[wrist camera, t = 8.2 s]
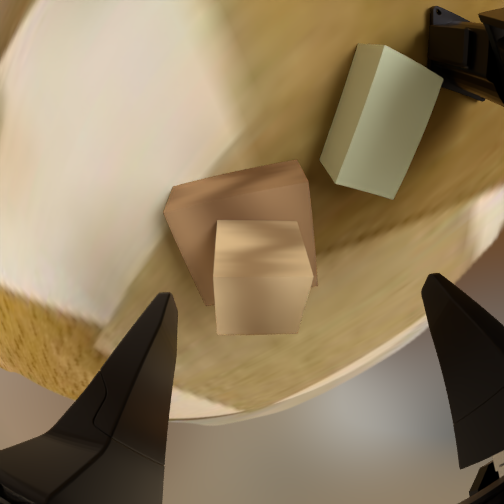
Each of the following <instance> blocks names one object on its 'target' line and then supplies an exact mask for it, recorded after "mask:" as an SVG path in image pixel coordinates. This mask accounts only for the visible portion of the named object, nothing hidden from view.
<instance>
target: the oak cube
mask: <svg viewBox="0 0 504 504" xmlns="http://www.w3.org/2000/svg"><path fill="white" fill-rule="evenodd" d="M313 277H314V276H313V273H312V269H311V266H310V262H309V259H308V256H307V252H306V249H305V246H304V242H303V239H302V236H301V232H300V229H299V226H298V223H297V221H264V220H217V231H216V244H215V258H214V273H213V282H214V298H215V312H216V326H217V335H267V334H296V333H298V331H299V327H300V324H301V321H302V317H303V314H304V310H305V306H306V303H307V299H308V296H309V292H310V288H311V285H312V281H313Z"/></svg>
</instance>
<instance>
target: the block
mask: <svg viewBox="0 0 504 504" xmlns="http://www.w3.org/2000/svg"><path fill="white" fill-rule="evenodd" d="M442 82H443V78H442V77H440V76H438V75H437V74H435V73H434V72H432V71H431V70H429V69H427V68H426V67H424V66H422V65H421V64H419V63H417V62H416V61H414V60H412V59H410V58H408V57H407V56H405V55H403V54H401V53H399V52H397V51H395V50H393V49H392V48H390V47H388V46H386V45H377V44H358V45H357V49H356V52H355V55H354V58H353V61H352V64H351V68H350V71H349V74H348V77H347V80H346V83H345V86H344V89H343V92H342V95H341V98H340V101H339V104H338V107H337V110H336V113H335V116H334V119H333V122H332V125H331V128H330V131H329V133H328V136H327V139H326V142H325V145H324V148H323V151H322V153H321V156H320V159H319V160H320V162H321V163H322V165H323V166H324V168H325V169H326V171H327V172H328V174H329V175H330V177H331V178H332V180H333V181H334V183H335V184H339V185H343V186H346V187H350V188H354V189H358V190H361V191H365V192H368V193H372V194H375V195H379V196H382V197H386V198H389V199H392V200H393V199H394V197H395V195H396V193H397V191H398V189H399V187H400V185H401V183H402V181H403V179H404V176H405V174H406V172H407V170H408V168H409V166H410V163H411V161H412V159H413V157H414V154H415V152H416V150H417V147H418V145H419V143H420V140H421V138H422V135H423V133H424V131H425V128H426V126H427V123H428V121H429V118H430V115H431V113H432V110H433V107H434V105H435V102H436V99H437V97H438V94H439V91H440V88H441V85H442Z"/></svg>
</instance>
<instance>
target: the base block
mask: <svg viewBox="0 0 504 504" xmlns="http://www.w3.org/2000/svg"><path fill="white" fill-rule="evenodd" d="M163 213H164V216H165V218H166V220H167V223H168V225H169V227H170V230H171V232H172V234H173V237H174V239H175V241H176V243H177V246H178V248H179V250H180V252H181V254H182V257H183V259H184V261H185V263H186V265H187V267H188V270H189V272H190V274H191V276H192V278H193V280H194V282H195V284H196V287H197V289H198V291H199V293H200V295H201V297H202V299H203V301H204V303H205V305H206V306H209V305H215V298H214V282H213V273H214V258H215V244H216V231H217V220H264V221H297V223H298V226H299V229H300V232H301V236H302V239H303V242H304V246H305V249H306V252H307V256H308V259H309V262H310V266H311V269H312V273H313V276H314V277H313V281H312V285H311V287H315V286H318V281H317V266H316V253H315V241H314V229H313V219H312V209H311V199H310V190H309V182H308V180H307V178H306V176H305V174H304V172H303V170H302V168H301V166H300V164H299V162H298V160H292V161H286V162H280V163H275V164H270V165H265V166H259V167H255V168H250V169H245V170H240V171H235V172H231V173H226V174H222V175H218V176H213V177H209V178H205V179H201V180H197V181H193V182H189V183H185V184H181V185H177V186H173V188H172V191H171V193H170V196H169V198H168V201H167V204H166V207H165V209H164V212H163Z"/></svg>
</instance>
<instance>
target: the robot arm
mask: <svg viewBox="0 0 504 504" xmlns="http://www.w3.org/2000/svg"><path fill="white" fill-rule="evenodd" d="M436 10H437V11H438V14H437V13H436ZM478 15H479V18H480V20H481V22H482V23H483V24H481V23H472V22H470V21H468V20H466V19H464V18H462V17H460V16H458V15H456V14H454V13H452V12H450V11H448V10H445V9H443V8H441V7H439V6H432V7H431V9H430V27H429V47H428V65H427V69H429V70H431V71H432V72H434V73H435V74H437V75H438V76H440V77H442V78H443V82H442V85H441V87H443V88H446V89H449V90H452V91H455V92H458V93H461V94H464V95H466V96H469V97H472V98H474V99H477V100H479V101H485V99H488V100H490V101H492V102H494V103H497V104H499V105H501V106H503V107H504V8H500V9H495V10H491V11H487V12H483V13H479V14H478ZM421 295H422V299H423V303H424V307H425V311H426V315H427V320H428V324H429V328H430V332H431V336H432V339H433V342H434V345H435V349H436V352H437V356H438V359H439V362H440V366H441V370H442V374H443V378H444V382H445V386H446V391H447V394H448V399H449V404H450V409H451V414H452V419H453V424H454V425H453V426H454V431H455V438H456V445H457V452H458V460H459V467H460V469H463V468H465V467H468V466H470V465H473V464H475V463H478V462H480V461H482V460H485V459H487V458H489V457H491V456H492V458H493V460H492V461H490V462H489V463H487V464H486V465H484V466H482V467H481V468H480V469H479V471H478V474H477V476H476V478H475V480H474V483H473V485H472V487H471V489H470V491H469V495H470V497H469V498H467V499H465V500H464V501H462V502H460V503H458V504H504V326H503V325H502V324H501V323H500V322H499V321H498V320H497V319H495V318H494V317H493V316H492V315H491V314H490V313H488V312H487V311H486V310H485V309H484V308H482V307H481V306H480V305H479V304H478V303H477V302H475V301H474V300H473V299H472V298H470V297H469V296H468V295H467V294H466V293H464V292H463V291H462V290H460V289H459V288H458V287H457V286H455V285H454V284H453V283H452V282H450V281H449V280H448V279H446V278H445V277H444V276H442V275H441V274H440V273H433V274H429V275H428V277H427V279H426V281H425V284H424V286H423V288H422V291H421ZM177 322H178V311H177V307H176V304H175V301H174V298H173V295H172V294H171V293H170V292H161V293H159V294H157V296H156V297H155V298H154V299H153V301H152V302H151V303H150V304H149V306H148V307H147V308H146V310H145V311H144V312H143V313H142V315H141V316H140V317H139V319H138V320H137V321H136V322H135V324H134V325H133V326H132V328H131V329H130V330H129V331H128V333H127V334H126V335H125V337H124V338H123V339H122V341H121V342H120V343H119V345H118V346H117V347H116V349H115V350H114V351H113V353H112V354H111V355H110V357H109V358H108V359H107V361H106V362H105V363H104V365H103V366H102V368H101V369H100V371H99V372H98V373H97V374H96V376H95V377H94V378H93V380H92V381H91V382H90V384H89V385H88V386H87V388H86V389H85V390H84V392H83V393H82V394H81V395H80V396H79V397H78V399H77V400H76V401H75V402H74V403H73V404H72V406H71V407H70V408H69V409H68V410H67V411H66V413H65V414H64V415H63V416H62V417H61V418H60V419H59V421H58V422H57V423H56V424H55V425H54V426H53V427H52V428H51V429H50V430H49V431H47V432H46V433H44V434H42V435H40V436H38V437H36V438H33V439H30V440H28V441H25V442H23V443H20V444H17V445H14V446H12V447H9V448H6V449H3V450H0V504H162V496H163V479H164V464H165V452H166V441H167V430H168V421H169V411H170V403H171V394H172V386H173V378H174V371H175V364H176V354H177Z"/></svg>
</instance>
